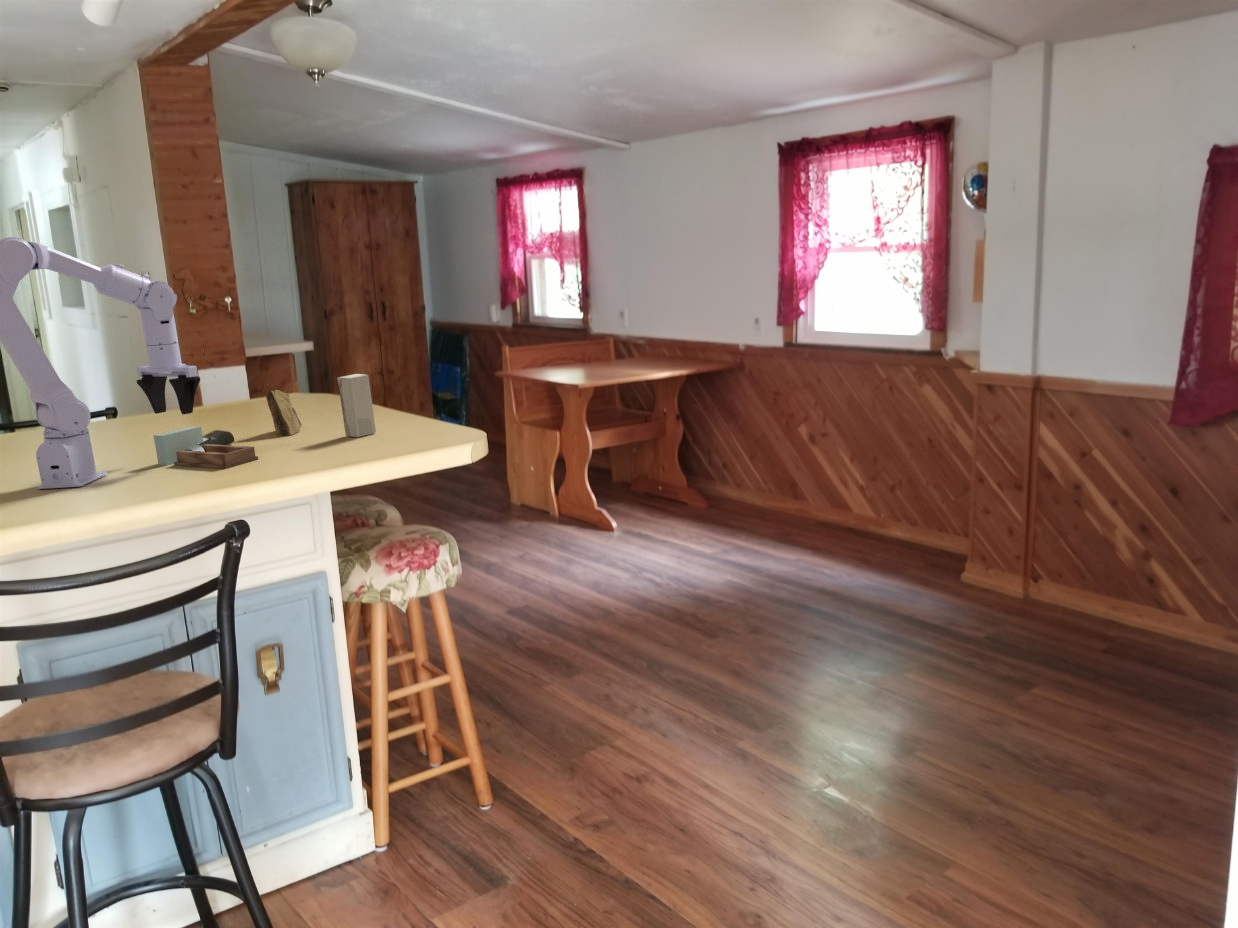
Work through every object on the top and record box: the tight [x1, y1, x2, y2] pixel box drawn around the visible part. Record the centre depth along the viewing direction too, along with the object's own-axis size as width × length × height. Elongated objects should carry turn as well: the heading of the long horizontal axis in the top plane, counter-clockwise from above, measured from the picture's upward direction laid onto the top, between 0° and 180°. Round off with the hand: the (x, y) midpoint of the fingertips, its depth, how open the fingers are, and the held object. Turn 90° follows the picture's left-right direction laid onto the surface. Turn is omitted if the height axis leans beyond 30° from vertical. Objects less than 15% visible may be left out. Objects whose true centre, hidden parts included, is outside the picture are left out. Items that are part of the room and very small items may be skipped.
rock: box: [265, 389, 303, 437], centre depth 215 cm, size 11×9×10 cm
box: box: [337, 373, 377, 438], centre depth 204 cm, size 5×4×13 cm
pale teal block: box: [153, 425, 204, 467], centre depth 190 cm, size 9×3×6 cm, turn 153°
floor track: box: [173, 443, 259, 470], centre depth 186 cm, size 14×8×3 cm, turn 63°
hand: (173, 413), depth 189 cm, fingers open, 7 cm apart
